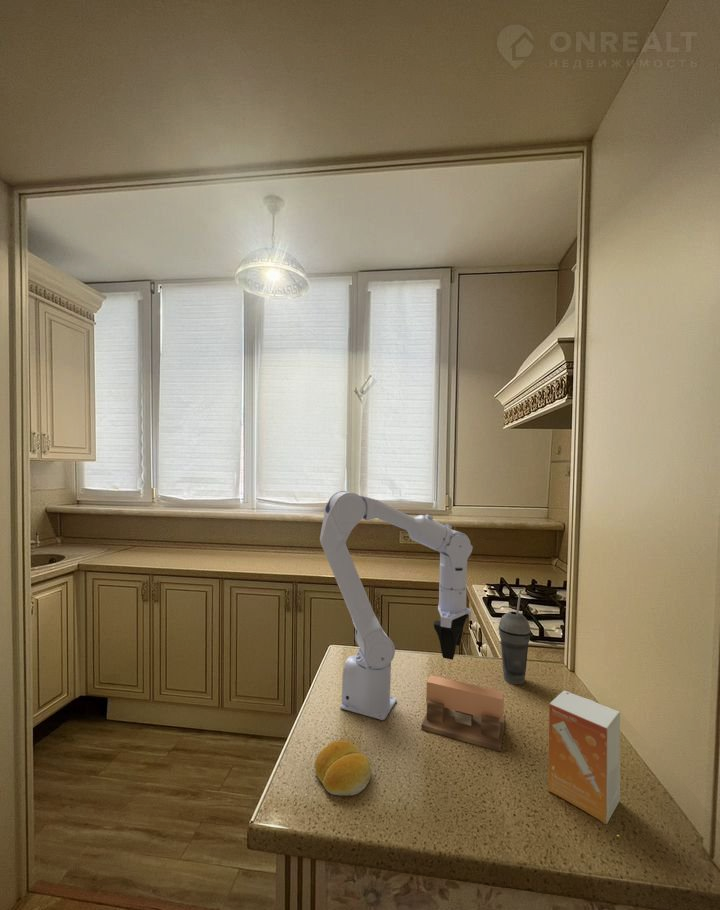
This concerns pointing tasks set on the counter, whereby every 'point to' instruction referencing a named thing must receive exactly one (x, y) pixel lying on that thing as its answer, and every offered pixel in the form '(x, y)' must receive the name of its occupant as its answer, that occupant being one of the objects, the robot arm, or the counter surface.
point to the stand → (464, 726)
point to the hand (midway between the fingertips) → (451, 651)
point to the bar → (465, 697)
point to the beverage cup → (514, 645)
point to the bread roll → (343, 768)
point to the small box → (584, 754)
